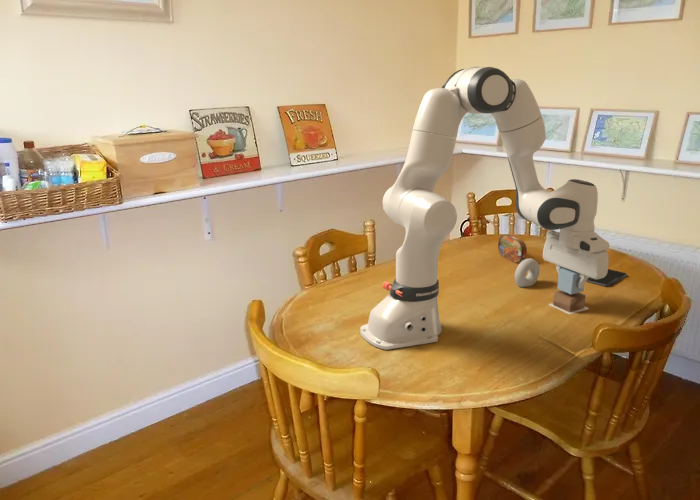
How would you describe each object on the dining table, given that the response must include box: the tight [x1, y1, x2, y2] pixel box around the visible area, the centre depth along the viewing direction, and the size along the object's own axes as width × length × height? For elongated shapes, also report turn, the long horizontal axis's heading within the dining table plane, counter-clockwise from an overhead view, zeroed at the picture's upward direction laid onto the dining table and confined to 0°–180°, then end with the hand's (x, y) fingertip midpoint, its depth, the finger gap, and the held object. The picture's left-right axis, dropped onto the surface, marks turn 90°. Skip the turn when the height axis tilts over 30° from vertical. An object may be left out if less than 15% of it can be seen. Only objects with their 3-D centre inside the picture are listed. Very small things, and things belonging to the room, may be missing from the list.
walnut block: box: [553, 290, 587, 312], centre depth 160 cm, size 6×6×4 cm
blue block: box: [556, 268, 585, 294], centre depth 158 cm, size 5×5×6 cm
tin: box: [497, 234, 528, 263], centre depth 204 cm, size 15×3×8 cm, turn 17°
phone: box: [585, 268, 628, 288], centre depth 185 cm, size 8×1×15 cm
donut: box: [514, 258, 541, 288], centre depth 177 cm, size 10×4×10 cm, turn 123°
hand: (570, 283), depth 159 cm, fingers closed on blue block, 5 cm apart
